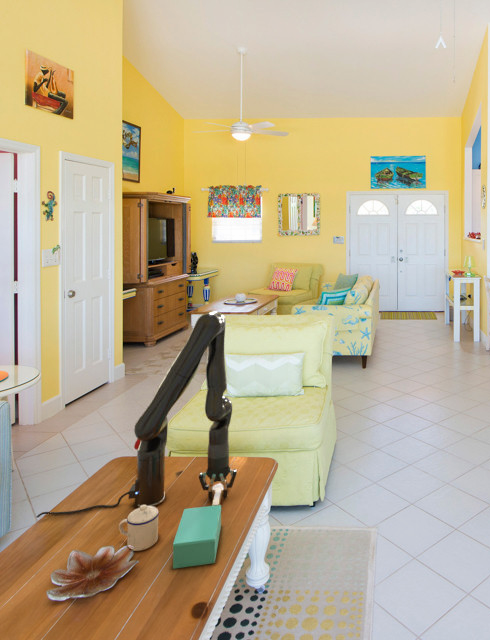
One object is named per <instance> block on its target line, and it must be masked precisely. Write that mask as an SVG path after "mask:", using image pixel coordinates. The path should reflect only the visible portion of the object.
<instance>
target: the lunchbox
mask: <svg viewBox="0 0 490 640" xmlns="http://www.w3.org/2000/svg"><path fill="white" fill-rule="evenodd" d="M221 528H222V509H221V510H220V516H219V521H218V526H217V532H216V537H215V541H214V542H206V543H198V544H190V545H182V546H174V547H173V546H172V551H173V552H172V569H182V568H189V567H195V566H204V565H212V564H215V563H216V557H217V552H218V545H219V540H220V535H221Z"/></svg>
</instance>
